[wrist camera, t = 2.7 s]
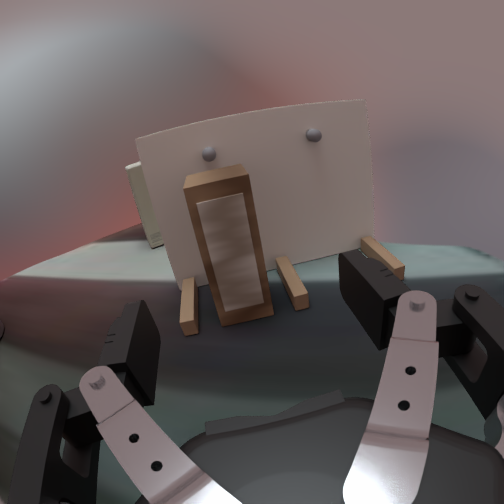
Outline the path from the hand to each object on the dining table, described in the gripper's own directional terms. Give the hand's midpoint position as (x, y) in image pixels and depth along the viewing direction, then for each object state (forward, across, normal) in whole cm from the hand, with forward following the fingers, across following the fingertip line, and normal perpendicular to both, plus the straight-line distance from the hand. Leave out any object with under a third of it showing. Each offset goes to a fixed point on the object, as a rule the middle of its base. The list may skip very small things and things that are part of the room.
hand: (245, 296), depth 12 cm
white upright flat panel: (+14, -4, +9) cm, 18 cm away
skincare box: (+34, +11, +9) cm, 37 cm away
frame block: (+12, 0, +9) cm, 16 cm away
